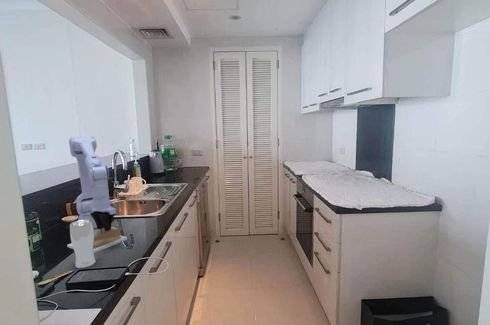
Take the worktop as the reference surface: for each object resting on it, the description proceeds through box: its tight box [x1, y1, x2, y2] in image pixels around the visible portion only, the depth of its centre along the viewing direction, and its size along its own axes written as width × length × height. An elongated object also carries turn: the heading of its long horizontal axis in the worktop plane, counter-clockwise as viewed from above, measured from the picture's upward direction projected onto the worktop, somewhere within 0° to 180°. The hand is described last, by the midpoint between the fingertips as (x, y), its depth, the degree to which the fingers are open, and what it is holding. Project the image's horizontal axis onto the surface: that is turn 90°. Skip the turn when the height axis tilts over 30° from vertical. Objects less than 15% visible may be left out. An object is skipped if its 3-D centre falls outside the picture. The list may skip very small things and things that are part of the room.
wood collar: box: [93, 226, 121, 248], centre depth 112 cm, size 12×12×4 cm
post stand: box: [66, 229, 128, 254], centre depth 112 cm, size 16×16×6 cm
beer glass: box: [69, 219, 96, 269], centre depth 93 cm, size 7×7×15 cm
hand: (104, 229), depth 109 cm, fingers open, 4 cm apart
